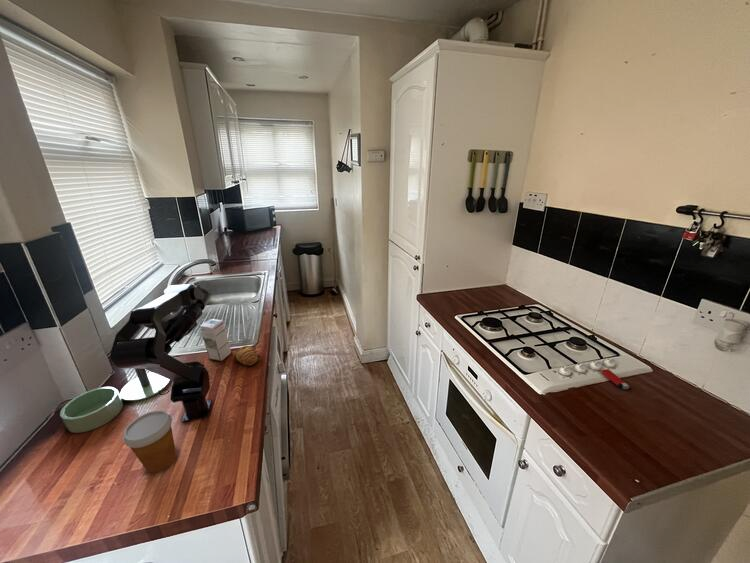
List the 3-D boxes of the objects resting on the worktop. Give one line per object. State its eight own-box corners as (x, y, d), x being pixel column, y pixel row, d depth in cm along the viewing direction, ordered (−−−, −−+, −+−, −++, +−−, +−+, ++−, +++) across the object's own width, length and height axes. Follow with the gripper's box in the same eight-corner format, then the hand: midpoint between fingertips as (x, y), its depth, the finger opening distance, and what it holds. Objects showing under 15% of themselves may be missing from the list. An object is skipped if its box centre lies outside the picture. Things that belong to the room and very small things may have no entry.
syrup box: (232, 352, 118) (224, 319, 112) (221, 361, 112) (212, 327, 107) (219, 350, 119) (211, 317, 114) (208, 359, 114) (198, 325, 108)
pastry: (263, 361, 112) (261, 352, 111) (245, 369, 108) (243, 360, 106) (252, 350, 118) (250, 342, 117) (234, 358, 114) (232, 350, 113)
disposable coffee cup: (175, 437, 82) (162, 403, 77) (189, 457, 76) (176, 421, 72) (132, 463, 75) (115, 427, 71) (145, 487, 69) (127, 450, 65)
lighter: (609, 369, 102) (630, 385, 94) (608, 372, 102) (629, 388, 95) (601, 369, 101) (621, 386, 94) (600, 372, 102) (620, 389, 95)
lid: (163, 397, 96) (155, 374, 93) (112, 407, 93) (102, 384, 89) (176, 370, 108) (169, 350, 105) (131, 378, 105) (123, 357, 102)
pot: (111, 426, 86) (105, 412, 84) (56, 437, 83) (48, 424, 81) (130, 395, 97) (125, 383, 95) (82, 404, 94) (76, 392, 92)
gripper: (178, 290, 98) (154, 321, 102) (137, 318, 81) (110, 355, 85) (208, 311, 101) (183, 341, 105) (175, 343, 84) (147, 377, 88)
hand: (158, 351), depth 96 cm, fingers open, 9 cm apart
